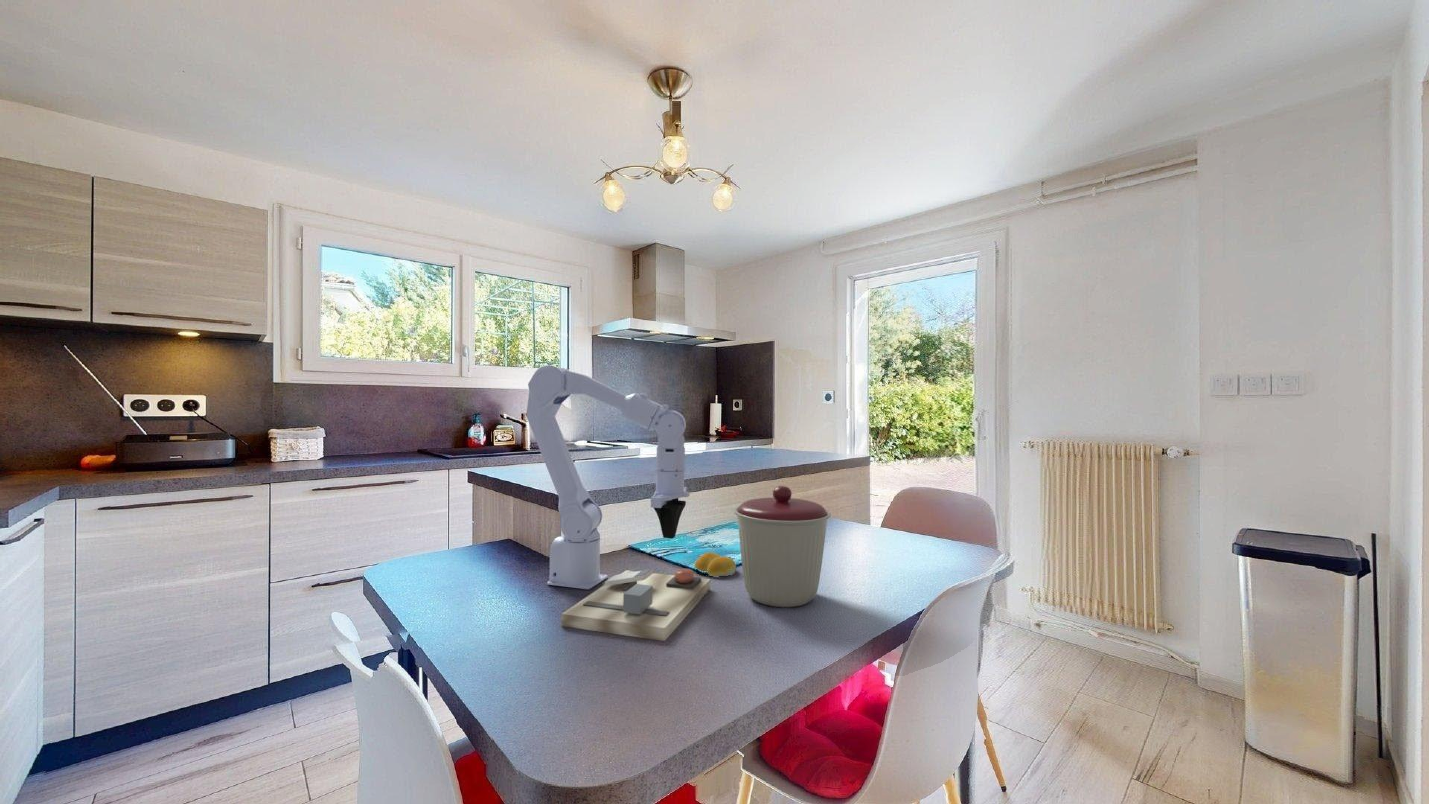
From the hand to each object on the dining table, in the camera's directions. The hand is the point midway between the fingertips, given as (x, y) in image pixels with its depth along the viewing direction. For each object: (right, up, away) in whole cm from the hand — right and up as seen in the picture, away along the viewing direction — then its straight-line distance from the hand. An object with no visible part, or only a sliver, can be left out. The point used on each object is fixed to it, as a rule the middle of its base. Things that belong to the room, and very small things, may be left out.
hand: (669, 537), depth 109 cm
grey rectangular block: (-3, -7, -20) cm, 21 cm away
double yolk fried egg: (+9, -10, +8) cm, 16 cm away
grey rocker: (-7, -6, -8) cm, 12 cm away
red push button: (+3, -7, -6) cm, 10 cm away
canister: (+22, -10, -7) cm, 25 cm away
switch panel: (-4, -9, -12) cm, 16 cm away
